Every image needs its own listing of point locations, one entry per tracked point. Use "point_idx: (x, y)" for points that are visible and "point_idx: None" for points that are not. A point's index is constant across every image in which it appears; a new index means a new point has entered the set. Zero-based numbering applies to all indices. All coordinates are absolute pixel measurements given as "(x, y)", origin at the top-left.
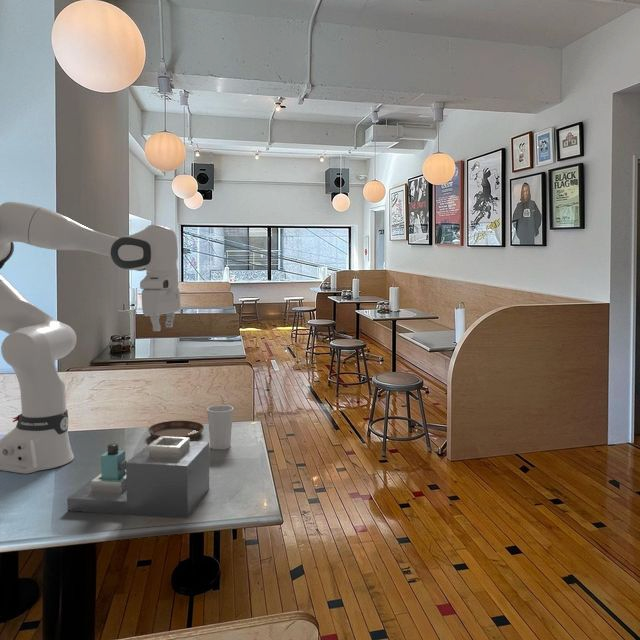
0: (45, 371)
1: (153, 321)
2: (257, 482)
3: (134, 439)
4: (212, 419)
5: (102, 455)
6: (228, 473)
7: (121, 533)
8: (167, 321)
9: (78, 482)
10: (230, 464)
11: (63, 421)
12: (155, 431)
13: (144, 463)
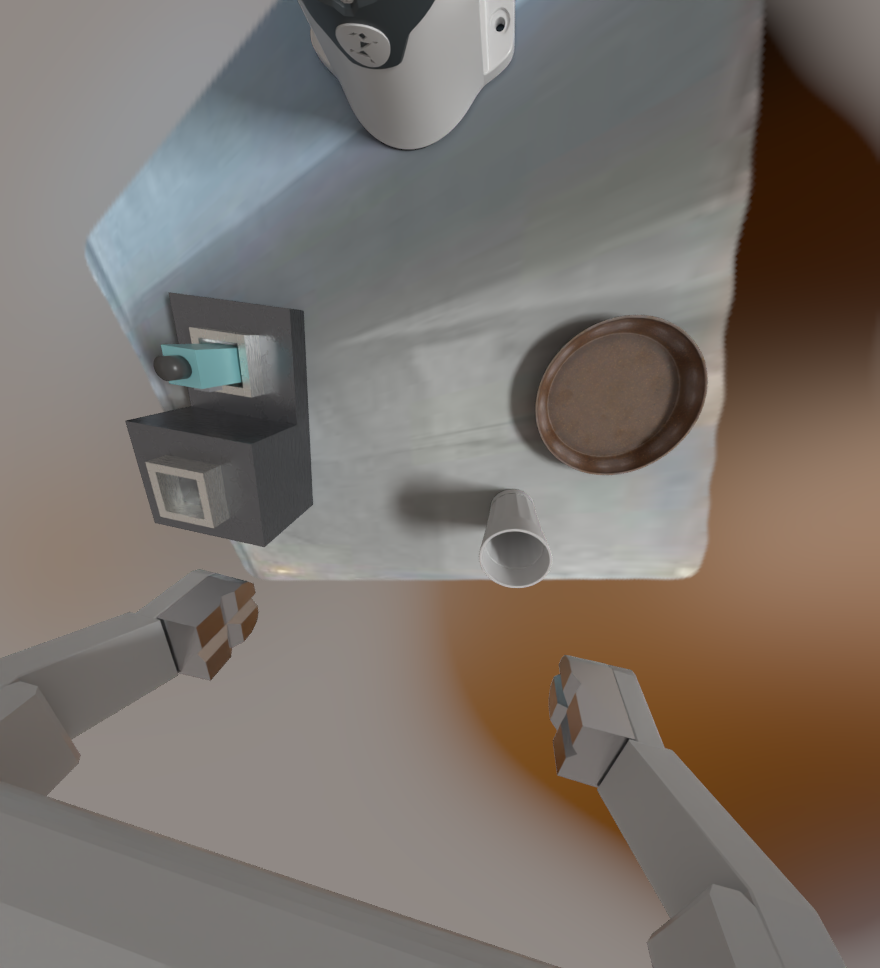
0: None
1: (56, 665)
2: (343, 565)
3: (596, 277)
4: (487, 531)
5: (163, 347)
6: (372, 528)
7: (164, 410)
8: (604, 746)
9: (296, 250)
10: (411, 530)
11: (347, 37)
12: (643, 331)
13: (136, 454)
